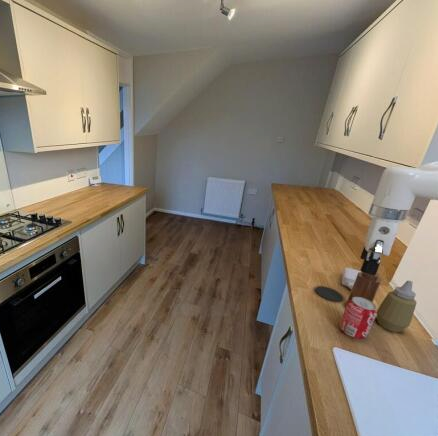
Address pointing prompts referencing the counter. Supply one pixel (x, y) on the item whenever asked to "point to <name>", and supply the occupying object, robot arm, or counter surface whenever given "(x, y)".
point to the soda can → (358, 317)
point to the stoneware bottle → (365, 286)
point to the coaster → (329, 294)
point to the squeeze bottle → (397, 308)
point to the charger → (349, 277)
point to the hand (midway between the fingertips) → (367, 266)
